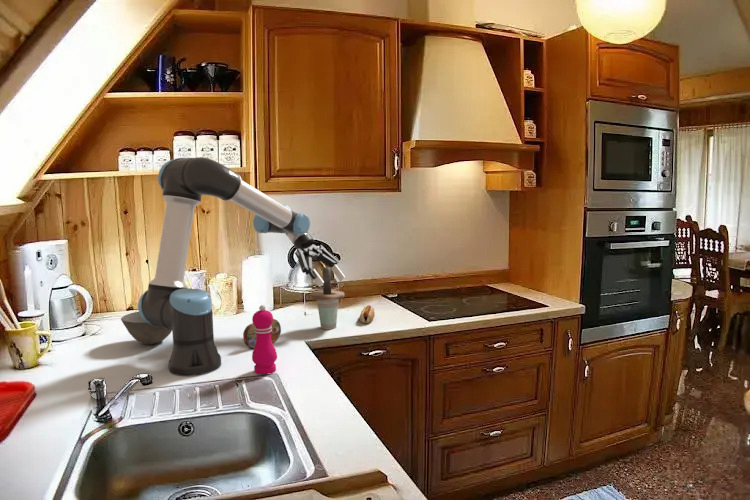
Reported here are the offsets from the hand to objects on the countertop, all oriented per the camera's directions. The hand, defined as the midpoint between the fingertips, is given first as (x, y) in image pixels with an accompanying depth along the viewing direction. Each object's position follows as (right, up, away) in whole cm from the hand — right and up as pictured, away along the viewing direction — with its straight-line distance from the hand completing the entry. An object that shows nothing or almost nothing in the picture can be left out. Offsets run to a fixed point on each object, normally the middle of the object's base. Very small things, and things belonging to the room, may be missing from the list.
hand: (332, 281), depth 198 cm
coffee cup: (-2, -18, +4) cm, 18 cm away
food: (+13, -16, +14) cm, 25 cm away
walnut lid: (-2, -6, +2) cm, 6 cm away
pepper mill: (-17, -24, -41) cm, 51 cm away
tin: (-23, -21, -16) cm, 35 cm away
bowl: (-62, -21, -12) cm, 67 cm away
